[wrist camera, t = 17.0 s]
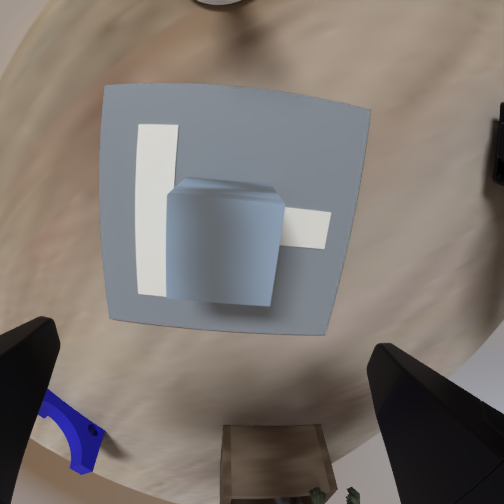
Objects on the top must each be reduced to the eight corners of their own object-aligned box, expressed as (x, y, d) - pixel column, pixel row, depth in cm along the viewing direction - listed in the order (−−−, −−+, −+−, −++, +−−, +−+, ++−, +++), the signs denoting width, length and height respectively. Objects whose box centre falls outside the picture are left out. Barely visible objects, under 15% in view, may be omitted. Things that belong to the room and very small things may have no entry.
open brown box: (320, 424, 27) (337, 489, 20) (299, 466, 31) (309, 519, 23) (223, 425, 26) (223, 495, 19) (219, 467, 30) (219, 523, 22)
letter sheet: (368, 109, 16) (371, 109, 16) (323, 332, 22) (325, 335, 22) (106, 86, 15) (104, 85, 14) (110, 316, 21) (109, 319, 20)
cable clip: (9, 376, 24) (-14, 411, 18) (19, 361, 23) (-7, 400, 17) (88, 438, 28) (76, 476, 22) (105, 429, 27) (92, 471, 21)
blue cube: (271, 184, 17) (285, 204, 13) (261, 263, 19) (270, 306, 15) (185, 177, 17) (166, 194, 12) (181, 257, 19) (166, 298, 14)
